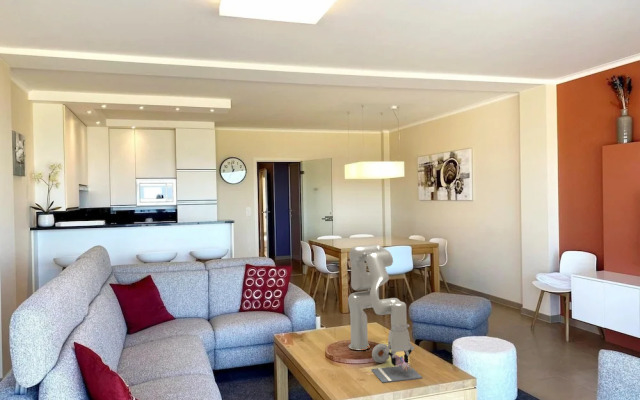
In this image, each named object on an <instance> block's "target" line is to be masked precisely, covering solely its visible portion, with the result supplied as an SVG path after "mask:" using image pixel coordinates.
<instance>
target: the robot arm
mask: <svg viewBox="0 0 640 400" xmlns="http://www.w3.org/2000/svg"><path fill="white" fill-rule="evenodd" d="M348 256H349V257H348V258H349V262H350V267H351V268H350V269H351V270H350V277H351V278H350V284H351V285H350V286H351V289H353V290H354V291H356V292H353V293H351V294H349V295H348V298H347V303H348V308H349V316H350V317H349V318H350V319H349V320H350V322H349V323H350V343H349V344H348V347H349V348H351V349H356V350H361V349H367V348H368V347H367V346H369V344H370V343H369V341H368V340H369V336H368V334H369V333H368V315H367V314H366V312H365V311H364V310H366V309H370V308H372V309H373V311H374V313H375V314H376V315H378V316H386V315H390V327H391V328H390V329H389V332H388V339H387V341H388V342H387V347H386V349H385V350H384V351H385V352H386V353H388V354H389V355H390V356H391V357H390V356H389V357H390V363H391V365H393V367H394V366H397V365H396V358H395V355H396V354H397V353H398V352H399V353H401V352H404V355H403V359H404V361H405V363H409V361H410V360H409V357H410V354H411V353H412V352H413V351H414V350H415V346H414V345H413V344H412V343H411V337H410V332H409V329H408V328H410V324H408V323H407V322H408V320H407V304H406V303H405V302H404V301H401V300H400V299H399V298H397V297H390V298H383V299H382V298H381V299H380V292H379V291H380V287H381V286H383V285H385V284H386V283H387V282H388V281H389V279H390V277H389V274H388V270H387V267H388V268H389V267H391V266H392V265H393V263H394V260H393V259H394V258H393V255H392V254H391V252H390V251H389V250H388V249H387V248H385V247H383V246H382V245H379V244H368V245H367V244H366V245H356V246H353V247H351V248H350V250H349V255H348ZM367 269H368V271H367ZM348 347H347V348H348ZM349 348H348V349H349ZM389 350H390V352H389Z"/></svg>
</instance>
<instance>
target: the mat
mask: <svg viewBox="0 0 640 400" xmlns="http://www.w3.org/2000/svg"><path fill="white" fill-rule="evenodd" d="M408 365H409V366H410V367H411V370H410V368H409V369H407V372H406V370H403V369H402V367H401V366H398V365H396V366H394V365H393V366H388V367H378V368H371V372H372V373H373V374H374V375H375V376H376V378H377V379H378V380H379V381H380V382H381V384H387V383H395V382H403V381H404V382H405V381H409V380H410V381H411V380H419V379H420V378H421V379H423V376H421V374H420V373H418V372H417V371H416V370H415V369H414V368H413V367H412V366H411V365H410V364H408Z"/></svg>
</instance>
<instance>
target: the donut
mask: <svg viewBox="0 0 640 400" xmlns="http://www.w3.org/2000/svg"><path fill="white" fill-rule="evenodd" d="M387 346H388V344H385V343H379V344H376V345H375V346H374V347H373V349H372V351H371V357H372V359H373V361H374V362H375V363H378V364H383V363H385V362H386V361H388V359H389V358H390V355H389V354H388V353H386V352H385V351H384V350H385V349H386V347H387ZM381 351H382V352H383V353H382V355H379V353H380V352H381ZM389 352H390V353H391V350H390V349H389Z"/></svg>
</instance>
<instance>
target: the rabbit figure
mask: <svg viewBox="0 0 640 400" xmlns="http://www.w3.org/2000/svg"><path fill="white" fill-rule="evenodd" d="M389 358H391V356H389ZM395 358H396V366H401V367H402V369H403V370H406V372H407V369H409V368H410V370H411V367H412V366H411V365H410V364H409V362H408V363H405V361H404V355H403V356H402V355H401V356H399V355H397V354H395ZM409 365H410V366H411V367H410V366H409Z"/></svg>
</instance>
